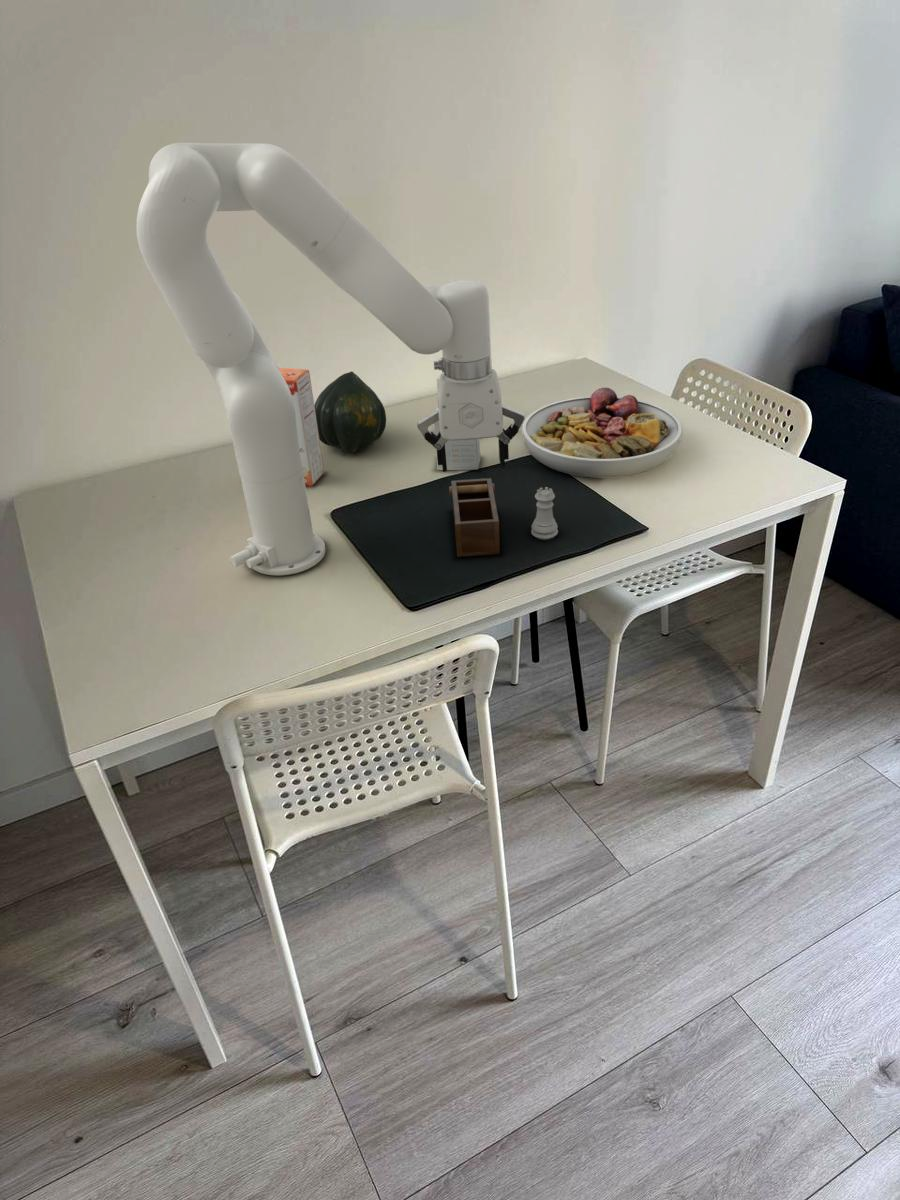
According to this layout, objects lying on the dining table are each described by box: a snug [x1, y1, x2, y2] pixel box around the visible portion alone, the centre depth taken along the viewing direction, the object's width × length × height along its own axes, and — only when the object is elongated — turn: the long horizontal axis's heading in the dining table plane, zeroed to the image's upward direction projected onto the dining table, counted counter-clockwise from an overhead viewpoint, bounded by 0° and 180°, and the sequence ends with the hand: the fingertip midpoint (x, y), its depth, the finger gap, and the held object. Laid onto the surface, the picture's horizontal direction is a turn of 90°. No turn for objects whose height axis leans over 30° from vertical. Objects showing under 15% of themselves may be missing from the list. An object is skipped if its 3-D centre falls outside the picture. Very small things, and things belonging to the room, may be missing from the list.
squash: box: [314, 371, 387, 454], centre depth 173 cm, size 14×15×15 cm
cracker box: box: [278, 367, 325, 487], centre depth 160 cm, size 14×6×21 cm, turn 73°
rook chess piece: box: [530, 486, 559, 541], centre depth 141 cm, size 4×4×8 cm
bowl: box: [521, 387, 683, 479], centre depth 166 cm, size 30×30×8 cm
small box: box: [433, 407, 481, 471], centre depth 163 cm, size 8×6×10 cm
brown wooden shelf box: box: [448, 477, 501, 558], centre depth 143 cm, size 15×8×6 cm, turn 2°
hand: (473, 465), depth 144 cm, fingers open, 9 cm apart
